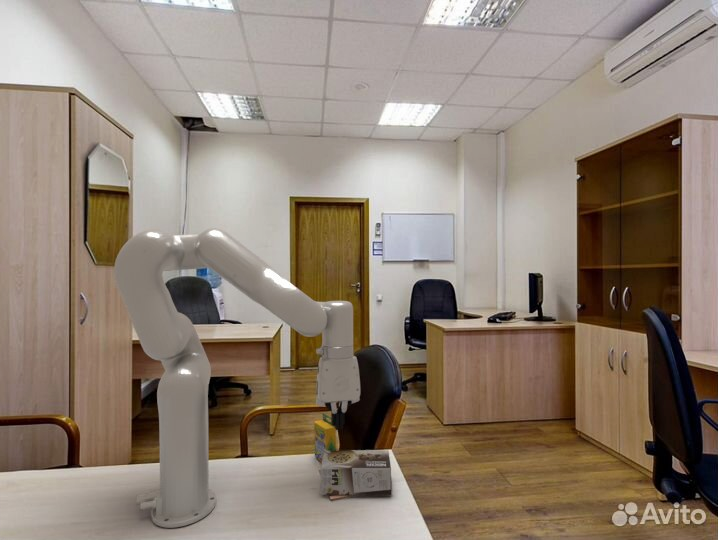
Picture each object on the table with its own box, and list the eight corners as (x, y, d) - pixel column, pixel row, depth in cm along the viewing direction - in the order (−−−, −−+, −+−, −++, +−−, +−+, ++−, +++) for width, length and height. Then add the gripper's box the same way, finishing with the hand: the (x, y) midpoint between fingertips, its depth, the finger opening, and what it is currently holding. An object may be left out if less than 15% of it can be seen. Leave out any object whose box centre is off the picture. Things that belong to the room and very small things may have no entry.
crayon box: (314, 457, 102) (313, 414, 103) (323, 455, 104) (323, 412, 105) (326, 467, 96) (326, 421, 97) (336, 464, 98) (336, 419, 98)
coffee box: (319, 496, 84) (391, 497, 84) (319, 467, 84) (391, 467, 84) (324, 475, 93) (389, 475, 93) (324, 448, 93) (389, 449, 93)
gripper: (309, 357, 85) (310, 438, 85) (372, 353, 89) (372, 429, 89) (304, 350, 92) (304, 425, 92) (362, 347, 97) (362, 418, 97)
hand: (338, 427), depth 91 cm, fingers closed
